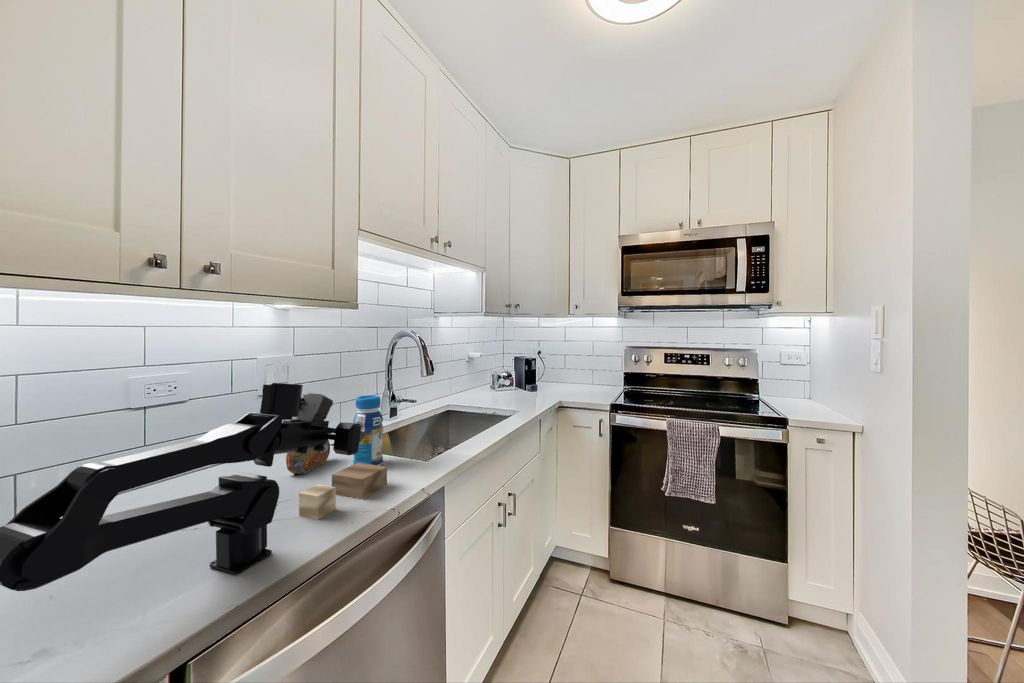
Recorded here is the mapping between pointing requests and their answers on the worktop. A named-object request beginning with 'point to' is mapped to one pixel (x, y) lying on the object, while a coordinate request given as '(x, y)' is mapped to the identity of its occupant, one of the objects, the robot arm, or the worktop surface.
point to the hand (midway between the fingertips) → (348, 432)
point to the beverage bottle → (369, 430)
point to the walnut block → (359, 480)
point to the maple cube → (317, 501)
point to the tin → (307, 459)
